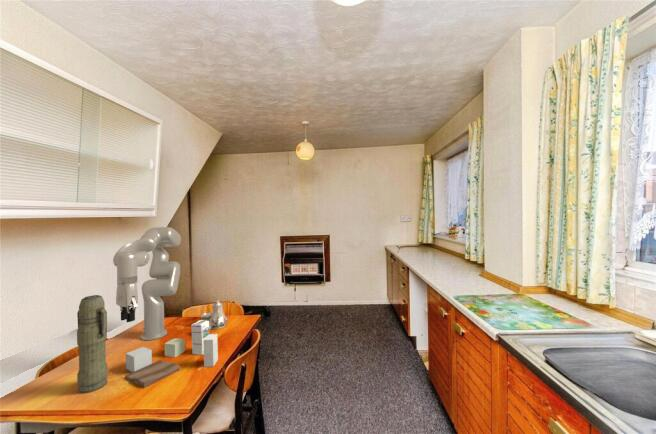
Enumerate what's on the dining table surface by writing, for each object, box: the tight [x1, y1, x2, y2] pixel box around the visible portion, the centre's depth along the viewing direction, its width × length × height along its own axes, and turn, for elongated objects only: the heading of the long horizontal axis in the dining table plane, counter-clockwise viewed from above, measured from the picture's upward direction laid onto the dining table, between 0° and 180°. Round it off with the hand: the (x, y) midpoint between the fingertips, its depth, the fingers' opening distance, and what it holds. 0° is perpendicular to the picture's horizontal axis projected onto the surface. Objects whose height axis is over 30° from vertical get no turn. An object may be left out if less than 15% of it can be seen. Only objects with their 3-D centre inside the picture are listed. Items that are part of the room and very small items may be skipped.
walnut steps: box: [124, 359, 180, 389], centre depth 115 cm, size 14×14×2 cm
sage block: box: [164, 337, 186, 358], centre depth 132 cm, size 6×6×6 cm
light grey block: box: [125, 346, 153, 373], centre depth 120 cm, size 7×7×7 cm
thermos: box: [76, 294, 109, 394], centre depth 107 cm, size 9×12×35 cm
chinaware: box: [199, 299, 229, 332], centre depth 165 cm, size 28×17×17 cm, turn 25°
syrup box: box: [191, 319, 210, 356], centre depth 134 cm, size 6×6×14 cm
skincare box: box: [203, 333, 219, 368], centre depth 122 cm, size 6×4×12 cm
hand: (127, 320), depth 125 cm, fingers open, 4 cm apart
